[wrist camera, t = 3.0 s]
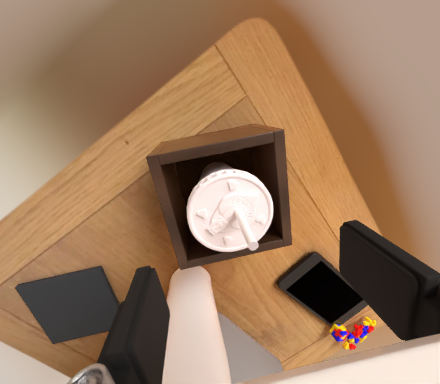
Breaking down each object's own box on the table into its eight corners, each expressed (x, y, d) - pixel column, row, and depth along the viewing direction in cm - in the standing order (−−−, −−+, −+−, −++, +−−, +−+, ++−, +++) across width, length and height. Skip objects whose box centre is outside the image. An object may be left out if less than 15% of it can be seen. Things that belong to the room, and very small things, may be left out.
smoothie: (255, 181, 25) (322, 254, 12) (212, 214, 26) (233, 316, 13) (221, 136, 23) (260, 169, 10) (176, 174, 24) (156, 249, 11)
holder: (161, 142, 23) (145, 157, 15) (254, 123, 23) (284, 129, 16) (183, 225, 26) (180, 270, 19) (264, 207, 27) (292, 245, 19)
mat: (18, 284, 26) (14, 287, 26) (101, 265, 27) (99, 268, 26) (55, 339, 30) (52, 344, 29) (128, 322, 30) (127, 326, 30)
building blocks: (380, 320, 36) (371, 311, 37) (350, 323, 32) (341, 313, 34) (359, 348, 37) (351, 338, 39) (328, 353, 34) (320, 342, 35)
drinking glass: (226, 277, 30) (256, 425, 16) (190, 306, 31) (188, 470, 17) (191, 248, 27) (190, 390, 13) (153, 280, 28) (115, 443, 14)
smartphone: (332, 327, 35) (336, 332, 34) (273, 282, 31) (275, 287, 30) (368, 298, 34) (373, 302, 33) (312, 247, 29) (316, 250, 29)
